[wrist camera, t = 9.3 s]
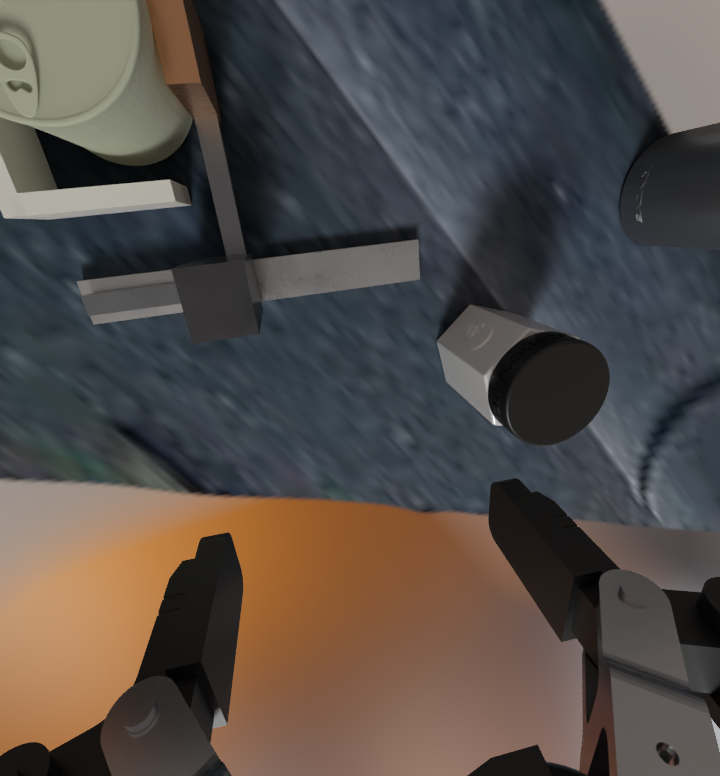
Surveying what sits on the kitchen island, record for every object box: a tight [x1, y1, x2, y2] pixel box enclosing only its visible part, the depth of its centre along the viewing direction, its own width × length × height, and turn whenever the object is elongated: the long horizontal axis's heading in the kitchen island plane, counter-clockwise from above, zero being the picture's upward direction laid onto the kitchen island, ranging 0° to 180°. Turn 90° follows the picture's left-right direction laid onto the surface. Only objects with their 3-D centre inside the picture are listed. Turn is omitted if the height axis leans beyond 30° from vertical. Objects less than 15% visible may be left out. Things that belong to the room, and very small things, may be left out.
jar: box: [437, 305, 610, 446], centre depth 32 cm, size 9×8×12 cm
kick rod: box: [81, 0, 263, 344], centre depth 23 cm, size 12×18×8 cm
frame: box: [0, 117, 192, 220], centre depth 22 cm, size 10×14×5 cm, turn 5°
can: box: [0, 0, 193, 166], centre depth 19 cm, size 9×9×12 cm
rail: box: [77, 239, 420, 324], centre depth 31 cm, size 26×3×1 cm, turn 95°
